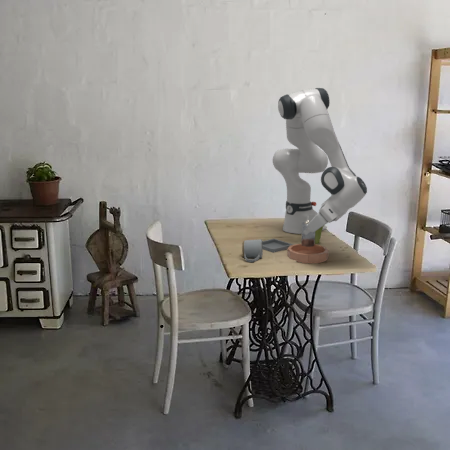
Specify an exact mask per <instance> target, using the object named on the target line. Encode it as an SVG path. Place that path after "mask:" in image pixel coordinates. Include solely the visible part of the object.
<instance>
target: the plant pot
mask: <svg viewBox="0 0 450 450" xmlns="http://www.w3.org/2000/svg"><path fill="white" fill-rule="evenodd" d="M323 227H324V226H322V227H321V228H319V229H318V230H316V231H315V244H317V245H319V244H320V243H321V236H322V232H323V230H322V229H323Z"/></svg>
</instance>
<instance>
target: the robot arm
mask: <svg viewBox="0 0 450 450" xmlns="http://www.w3.org/2000/svg"><path fill="white" fill-rule="evenodd" d="M330 104H331V103H330V95H329V93H328V91H327V90H326V89H325V88H323V87H316V88H311V89H310V88H308V89H302V90H299V91H296V92H292V93H289V94H284V95H283V96H280V97H279V99H278V104H277V109H278V113H279V115H280V117H281V118H283V119H284V120H285V126H286V127H285V128H286V129H285V130H286V139H287V141H288V142H289V144H290V145H292V146H294V147H295V148H283V149H278V150H276V151H275V152H274V154H273V157H272V166H273V167H274V168H275V170H277V172H279V173H280V174H281V176H282V177H283V179H284V181H285V184H286V202H285V213H284V220H283V221H284V222H283V224H282V231H283V232H285V233H290V234H297V235H298V234H299V235H302V223H303V222H306V221H307V220H309V221H310V222H309V223H308V225H307V229H306V230H305V231H303V233H304V234H305V235H307V234H308V233H309V232H315V231H316V230H318V229H319V228H321V227H322V226H324V227H323V229H322V231H324V230H327V229H328V226H326V225H327V224H329V223H330V224H331V223H332V222H337V221H338V220H339V219H341V218H342V217H344V215H346V214H347V213H348V212H349V210H350V209H352V208H354V207H355V206H357V205H358V203H360V202H361V201H362V200H363V199H364V197H366V195H367V193H368V187H367V185H366V183H365V182H364V180H363V179H362V178H361V177H360V176H357V175H356V173H355V172H353V170H352V169H351V168H350V166H349V164H348V162H347V158H346V157H345V154H344V152H343V149H342V147H341V144H340V142H339V140H338V137H337V135H336V131H335V130H334V129H335V128H334V126H333V123H332V120H331V117H330V114H329V112H328V108H329V107H330ZM328 164H330V167H328ZM299 173H302V174H318V173H322V174H321V176H320V183H321V185H322V187H323V188H324V189H325V190H327V192H328V193H330V194H331V196H329V197H328V198H327V199H325V201H323V202H322V204H321V205H320V209H318V212H317V211H315V210H314V208H313V207H316V206H317V202H316V201H311V195H312V194H311V192H312V189H311V187H312V186H311V185H310V183H309V182H308V181H306V180H304V179H302V178H301V176H300V174H299Z"/></svg>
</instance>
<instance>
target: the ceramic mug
mask: <svg viewBox="0 0 450 450" xmlns="http://www.w3.org/2000/svg"><path fill="white" fill-rule="evenodd" d="M262 241H263V239H246V240H243V241H242V244H241V250H242V251H241V254H242V255H241V256H242V257H243V258H244V260H245V261H246V262H248V263H255V262H257V261H259V259H262V258H263V254H264V250H263V244H262Z"/></svg>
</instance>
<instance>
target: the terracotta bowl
mask: <svg viewBox="0 0 450 450" xmlns="http://www.w3.org/2000/svg"><path fill="white" fill-rule="evenodd" d="M286 252H287V257H288V258H289V259H291V260H293V261H296V262H295V263H300V262H302V264H308V263H309V264H320V263H323V262H327V260H328V259H329V248H327V247H326V246H324V245H320V244H315V246H312V247H306V246H302V245H301V243H296V244H295V243H294V245H291V246H289V247H288V249H287V250H286Z"/></svg>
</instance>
